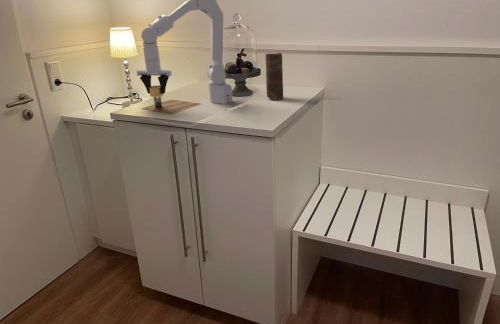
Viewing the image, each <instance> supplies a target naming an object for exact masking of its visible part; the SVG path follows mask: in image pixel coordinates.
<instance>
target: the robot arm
mask: <svg viewBox="0 0 500 324" xmlns="http://www.w3.org/2000/svg"><path fill="white" fill-rule="evenodd" d="M191 11H201V12H203V13H204V14H206V16H207V17H208V18H209V19H210V61H209V68H208V69H207V72H206V73H207V77H208V78H209V81H208V91H209V92H208V93H209V103H210V104H219V105H227V104H229V103H231V102H233V89H232V88H233V87H232V86H231V84H229V83H227V82H226V77H227V73H226V71H225V65H224V60H223V58H224V56H223V55H224V54H223V53H224V13H223V11H222V8H221V7H220V5H219V4H218V2H217V0H186V1H185V2H184V3H183V4H181V5H180V6H179V7H177V8H176V9H175V10H174V11H173V12H171V13H170V14H162V15H161V14H160V15H158V16H157V19H155V20H154V21H153V22H151V23H150V22H149V23H148V24H147V25H148V27H145V28H144V29H142V31H141V35H140V37H141V38H142V40H143V42H142V46H143V56H144V64H145V69H138V70H136V75H137V76H140V77H139V79H140V81H141V82H142V83H143V85H144V87H145V90H146V91H147V94H149V95H150V92H149V87H150V86H152V76H158V77H157V80H158V82H159V86H160V88H161V94H164V95H165V94H166V88H167V84H168V80H169V78H170V76H173V75H172V70H171V69H170V70H168V69H162V67H161V60H160V51H159V47H158V41H157V40H158V38H159V37H162V36H164V35H165V34H167V33H168V32H169V31H170V30H171V29H173V27H174V23H175V22H176V21H177V20H180V19H181V18H182V17H184V16H185V15H186V14H188V13H190V12H191Z"/></svg>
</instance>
